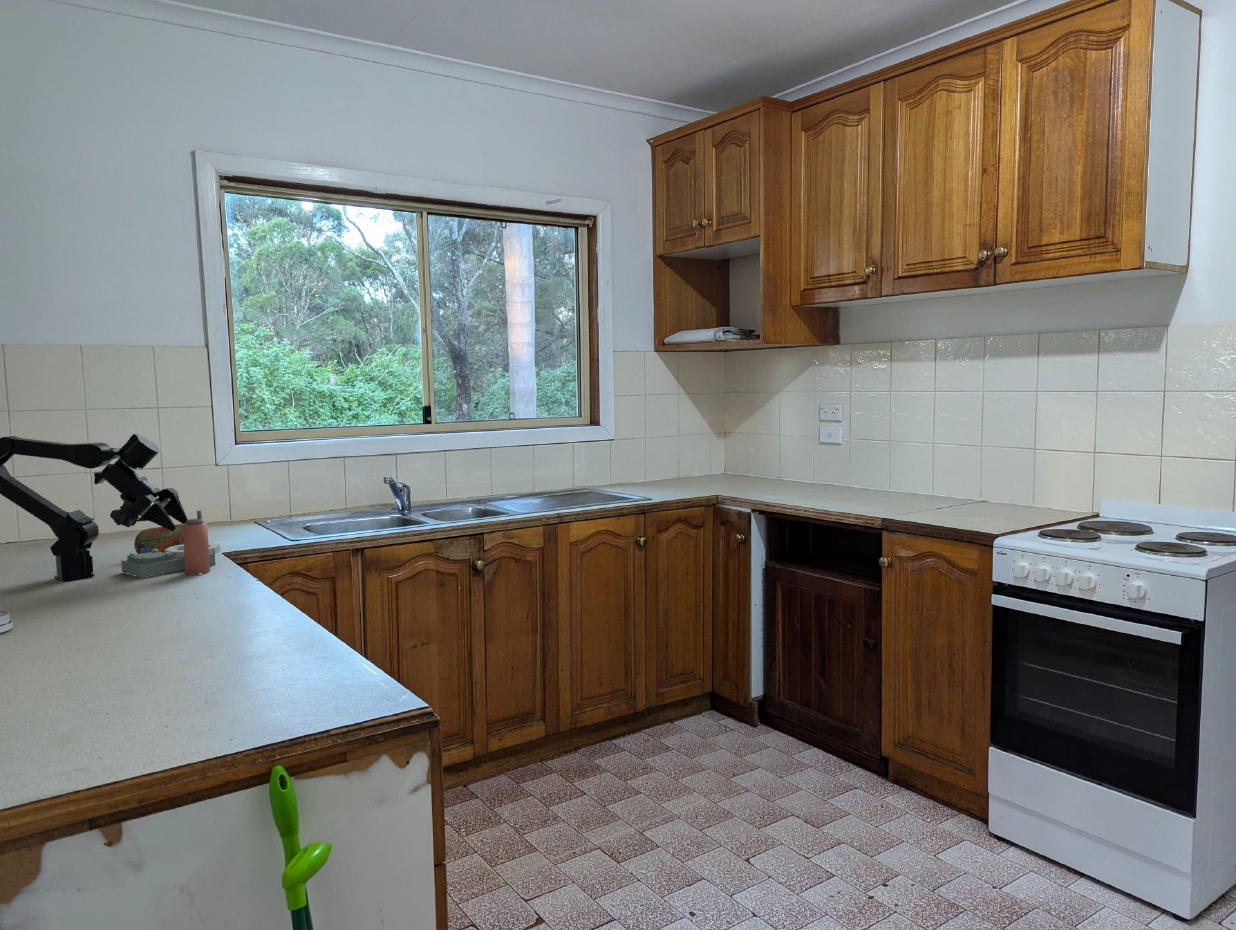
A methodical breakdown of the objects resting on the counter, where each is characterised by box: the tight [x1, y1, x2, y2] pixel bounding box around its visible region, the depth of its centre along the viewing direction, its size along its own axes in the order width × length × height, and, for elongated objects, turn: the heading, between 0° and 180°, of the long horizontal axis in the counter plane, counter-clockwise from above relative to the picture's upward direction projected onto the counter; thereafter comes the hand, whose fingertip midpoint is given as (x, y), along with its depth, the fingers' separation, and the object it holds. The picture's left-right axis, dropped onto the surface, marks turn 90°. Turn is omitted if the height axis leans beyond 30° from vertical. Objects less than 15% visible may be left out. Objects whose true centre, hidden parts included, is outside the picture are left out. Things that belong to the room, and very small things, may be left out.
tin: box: [133, 523, 184, 554], centre depth 227 cm, size 15×3×8 cm, turn 143°
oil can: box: [183, 510, 211, 575], centre depth 207 cm, size 5×5×15 cm
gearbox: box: [120, 542, 221, 578], centre depth 213 cm, size 21×12×5 cm, turn 143°
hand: (181, 526), depth 206 cm, fingers open, 9 cm apart
